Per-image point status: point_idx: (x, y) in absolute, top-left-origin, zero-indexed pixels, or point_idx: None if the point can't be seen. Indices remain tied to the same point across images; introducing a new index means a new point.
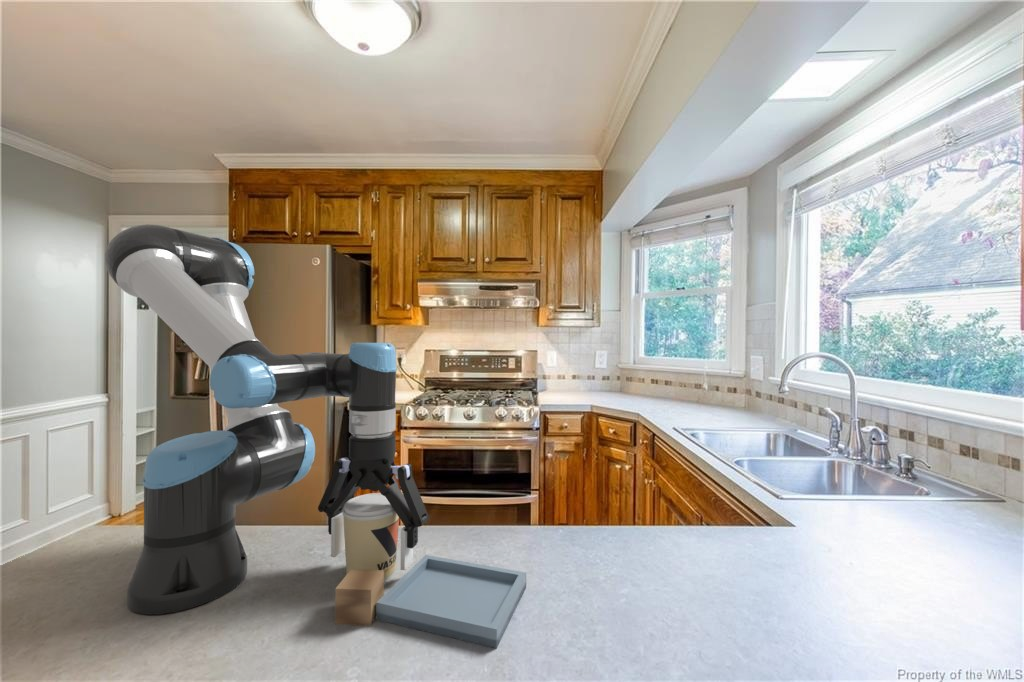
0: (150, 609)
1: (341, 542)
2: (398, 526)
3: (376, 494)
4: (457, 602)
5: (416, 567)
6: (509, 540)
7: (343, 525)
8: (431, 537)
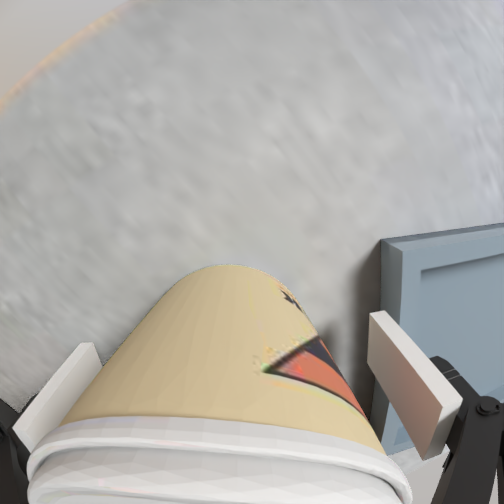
0: None
1: (86, 380)
2: (347, 385)
3: (72, 493)
4: (500, 344)
5: (409, 332)
6: (478, 9)
7: (55, 409)
8: (257, 29)
